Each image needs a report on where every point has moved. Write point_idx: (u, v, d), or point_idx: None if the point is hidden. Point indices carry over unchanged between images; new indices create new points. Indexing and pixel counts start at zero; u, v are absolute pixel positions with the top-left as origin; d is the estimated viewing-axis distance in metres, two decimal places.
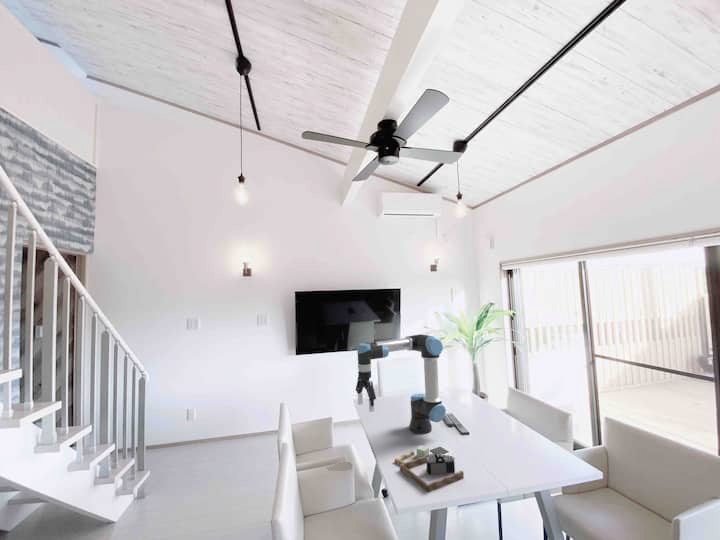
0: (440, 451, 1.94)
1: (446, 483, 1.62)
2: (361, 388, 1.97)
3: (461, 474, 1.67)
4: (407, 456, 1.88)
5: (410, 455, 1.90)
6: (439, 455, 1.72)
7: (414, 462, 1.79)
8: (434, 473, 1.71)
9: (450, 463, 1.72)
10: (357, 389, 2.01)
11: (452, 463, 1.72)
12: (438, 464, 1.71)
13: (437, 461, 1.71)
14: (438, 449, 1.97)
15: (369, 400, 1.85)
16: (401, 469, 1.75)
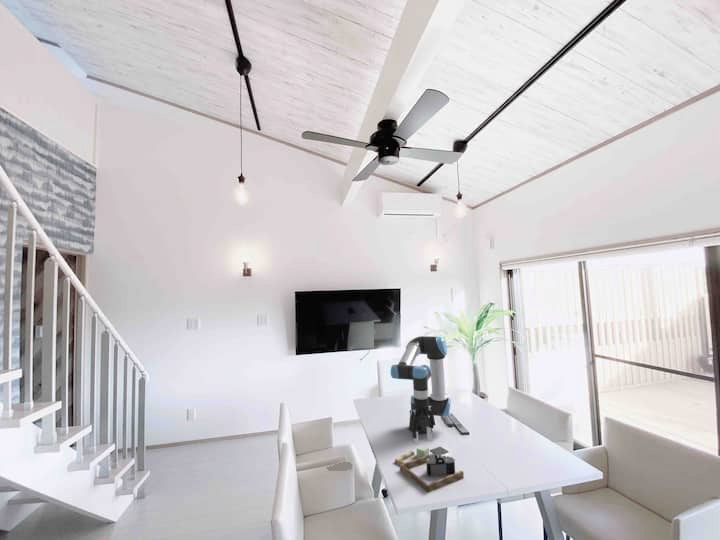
0: (440, 451, 1.94)
1: (446, 483, 1.62)
2: (426, 419, 1.73)
3: (461, 474, 1.67)
4: (407, 456, 1.88)
5: (410, 455, 1.90)
6: (439, 456, 1.71)
7: (414, 462, 1.79)
8: (434, 474, 1.70)
9: (450, 464, 1.70)
10: (431, 422, 1.75)
11: (452, 464, 1.70)
12: (438, 465, 1.70)
13: (437, 462, 1.69)
14: (438, 449, 1.97)
15: None
16: (401, 469, 1.75)
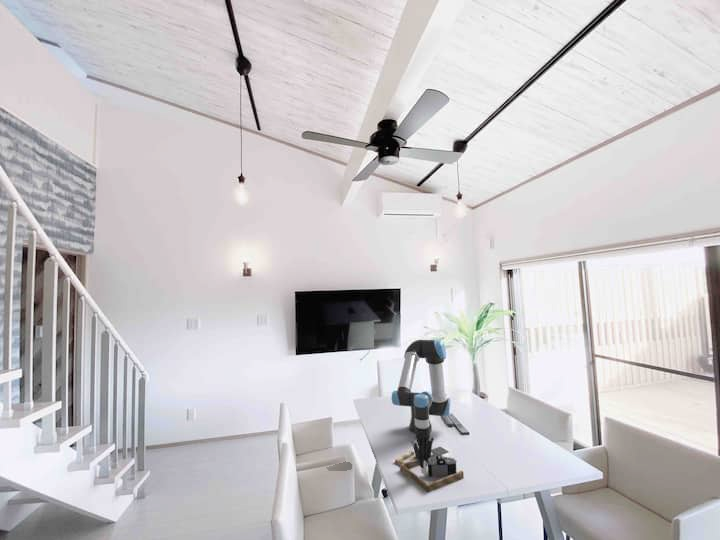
0: (440, 451, 1.94)
1: (446, 483, 1.62)
2: (424, 450, 1.71)
3: (461, 474, 1.67)
4: (407, 456, 1.88)
5: (410, 455, 1.90)
6: (440, 457, 1.70)
7: (414, 462, 1.79)
8: (435, 475, 1.69)
9: (452, 465, 1.69)
10: None
11: (454, 465, 1.69)
12: (440, 466, 1.69)
13: (438, 463, 1.69)
14: (438, 449, 1.97)
15: None
16: (401, 469, 1.75)
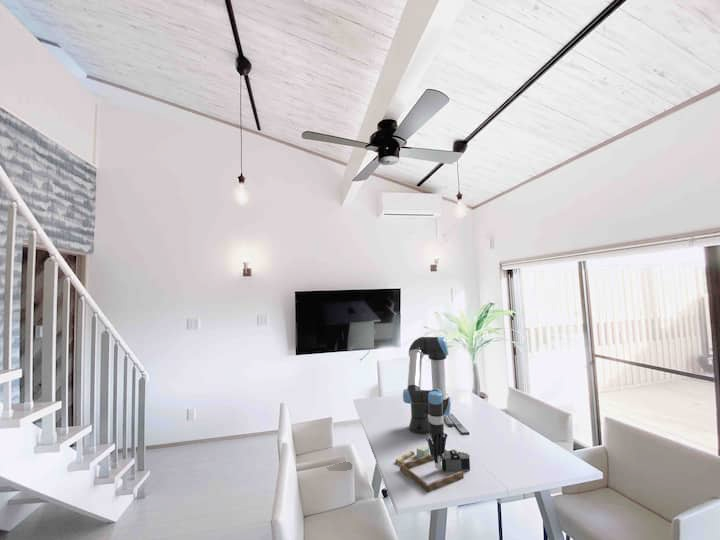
0: None
1: (446, 483, 1.62)
2: None
3: (461, 474, 1.67)
4: (407, 456, 1.88)
5: (410, 455, 1.90)
6: (454, 452, 1.75)
7: (414, 462, 1.79)
8: (449, 469, 1.74)
9: (465, 460, 1.74)
10: None
11: (467, 460, 1.74)
12: (453, 460, 1.74)
13: (452, 458, 1.73)
14: None
15: None
16: (401, 469, 1.75)
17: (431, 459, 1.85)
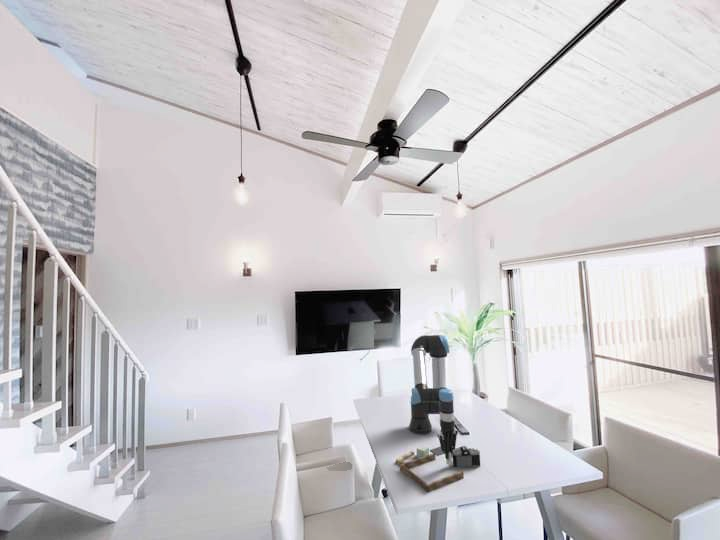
0: (440, 451, 1.94)
1: (446, 483, 1.62)
2: None
3: (461, 474, 1.67)
4: (408, 456, 1.88)
5: (410, 455, 1.90)
6: (465, 448, 1.78)
7: (414, 462, 1.79)
8: (460, 465, 1.77)
9: (475, 456, 1.77)
10: None
11: (477, 456, 1.77)
12: (464, 456, 1.78)
13: (463, 454, 1.77)
14: (438, 449, 1.97)
15: None
16: (401, 469, 1.75)
17: (431, 459, 1.85)
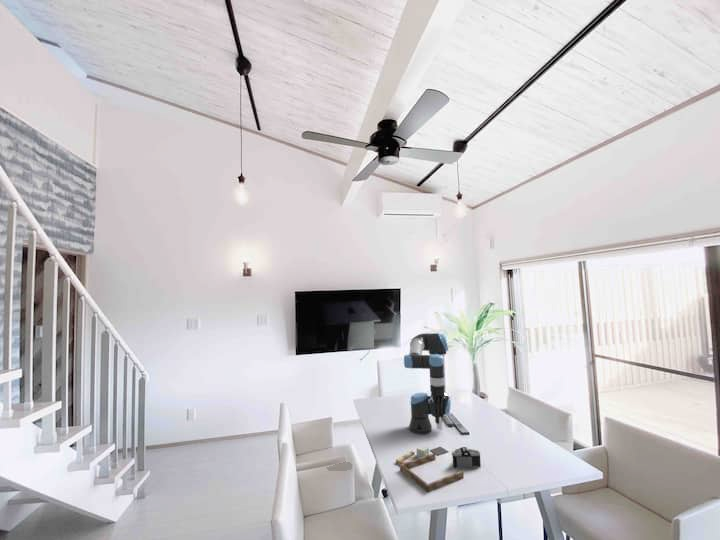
0: (440, 451, 1.94)
1: (446, 483, 1.62)
2: (439, 407, 1.79)
3: (461, 474, 1.67)
4: (408, 456, 1.88)
5: (411, 455, 1.90)
6: (465, 449, 1.78)
7: (414, 462, 1.79)
8: (460, 466, 1.77)
9: (476, 457, 1.77)
10: None
11: (478, 457, 1.77)
12: (464, 457, 1.77)
13: (463, 455, 1.76)
14: (438, 449, 1.97)
15: None
16: (401, 469, 1.75)
17: (431, 459, 1.85)
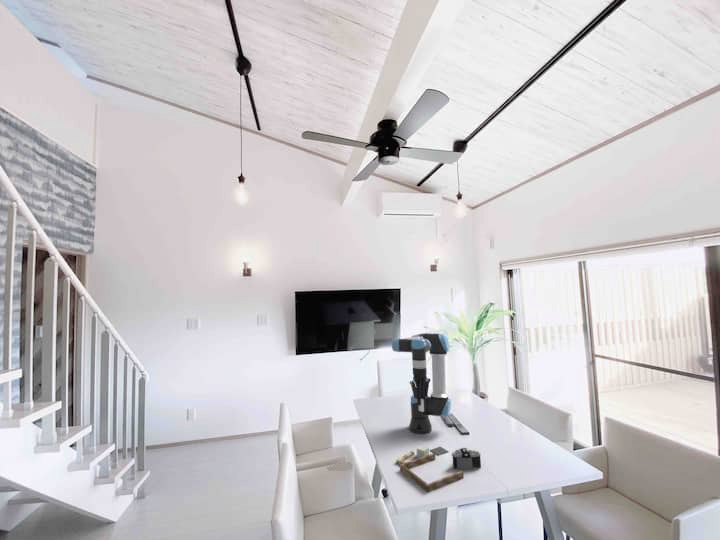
0: (440, 451, 1.94)
1: (446, 483, 1.62)
2: (421, 389, 1.82)
3: (461, 474, 1.67)
4: (408, 456, 1.88)
5: (411, 455, 1.90)
6: (465, 450, 1.77)
7: (414, 462, 1.79)
8: (460, 467, 1.76)
9: (476, 458, 1.76)
10: None
11: (478, 458, 1.76)
12: (464, 458, 1.76)
13: (463, 456, 1.75)
14: (438, 449, 1.97)
15: None
16: (401, 469, 1.75)
17: (431, 459, 1.85)
